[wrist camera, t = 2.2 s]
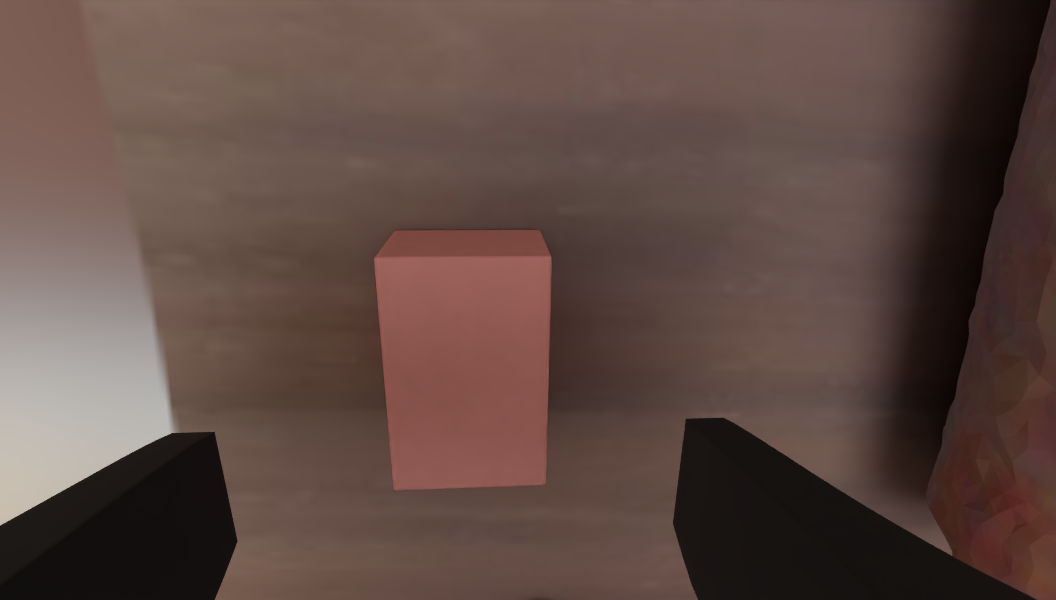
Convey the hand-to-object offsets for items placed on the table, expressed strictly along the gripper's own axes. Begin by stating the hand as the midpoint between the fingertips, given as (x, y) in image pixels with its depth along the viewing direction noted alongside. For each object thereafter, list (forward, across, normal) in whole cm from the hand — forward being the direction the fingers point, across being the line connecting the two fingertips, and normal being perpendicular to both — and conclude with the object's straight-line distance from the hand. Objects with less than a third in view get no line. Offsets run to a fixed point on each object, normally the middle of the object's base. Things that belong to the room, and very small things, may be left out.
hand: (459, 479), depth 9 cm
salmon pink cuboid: (+6, 0, 0) cm, 6 cm away
